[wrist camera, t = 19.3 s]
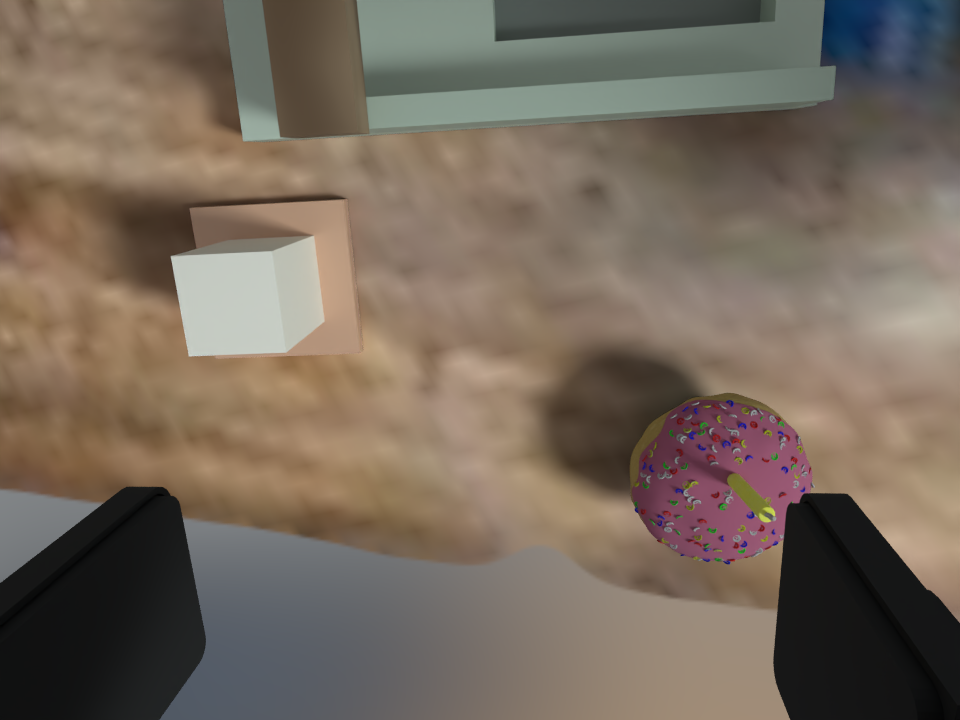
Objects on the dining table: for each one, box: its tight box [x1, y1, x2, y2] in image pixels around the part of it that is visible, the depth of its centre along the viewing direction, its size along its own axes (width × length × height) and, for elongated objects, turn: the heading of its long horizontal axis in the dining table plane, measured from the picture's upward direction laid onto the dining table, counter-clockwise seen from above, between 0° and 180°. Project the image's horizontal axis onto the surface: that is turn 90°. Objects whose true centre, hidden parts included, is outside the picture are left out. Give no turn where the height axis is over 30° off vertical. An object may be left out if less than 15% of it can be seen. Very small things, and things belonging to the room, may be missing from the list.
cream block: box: [171, 235, 325, 356], centre depth 33 cm, size 4×4×6 cm
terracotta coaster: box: [190, 199, 363, 359], centre depth 37 cm, size 8×8×1 cm
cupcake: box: [630, 393, 815, 564], centre depth 32 cm, size 9×8×12 cm
